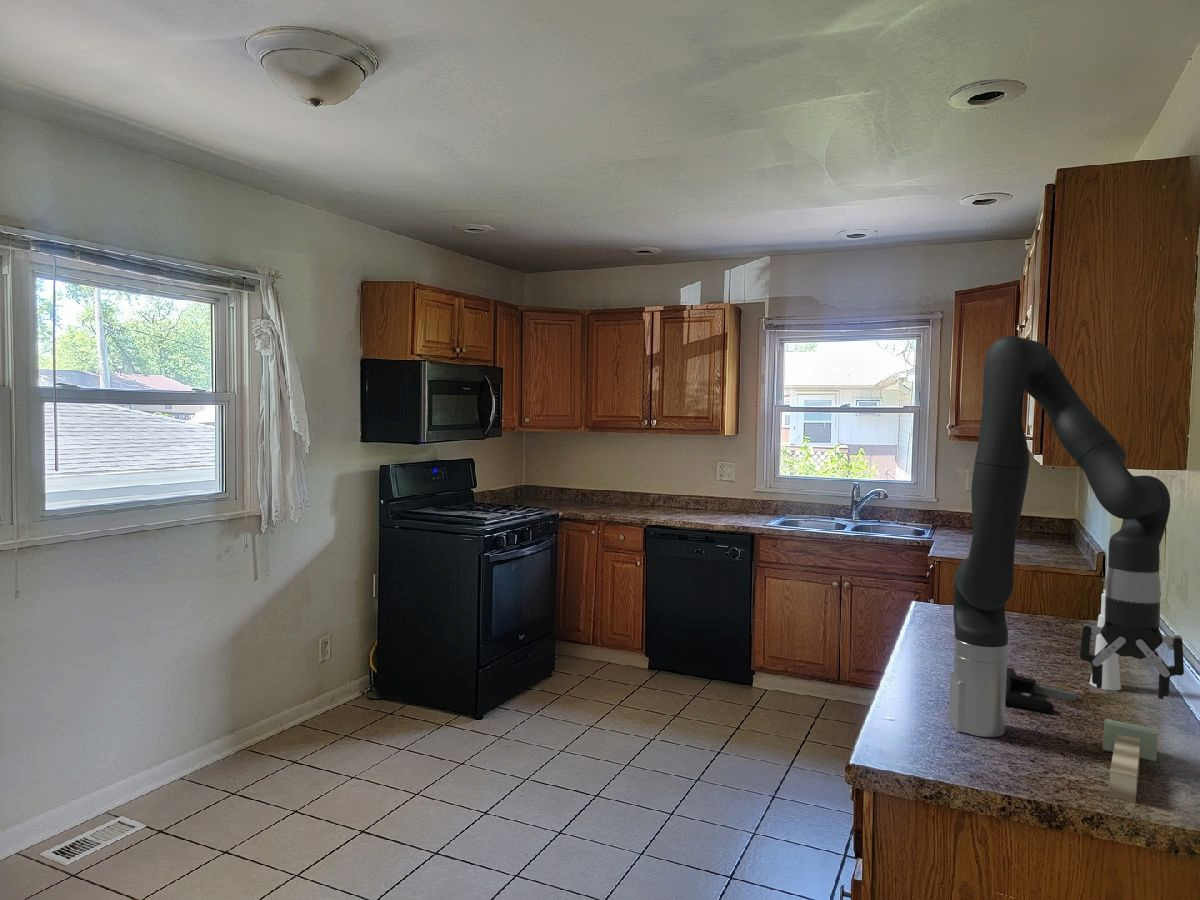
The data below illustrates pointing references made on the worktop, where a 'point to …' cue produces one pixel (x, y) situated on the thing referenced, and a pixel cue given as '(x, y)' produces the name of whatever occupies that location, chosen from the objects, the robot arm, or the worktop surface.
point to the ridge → (1135, 731)
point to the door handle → (1032, 693)
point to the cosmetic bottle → (1110, 664)
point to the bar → (1125, 768)
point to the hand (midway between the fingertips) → (1129, 692)
